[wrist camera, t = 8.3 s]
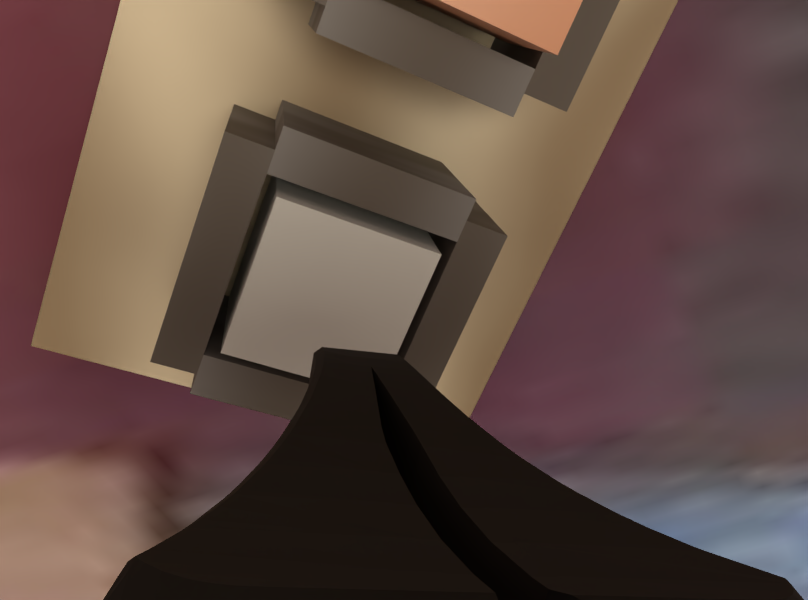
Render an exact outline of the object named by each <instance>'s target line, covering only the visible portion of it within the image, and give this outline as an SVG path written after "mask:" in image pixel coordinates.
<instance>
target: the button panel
mask: <svg viewBox="0 0 808 600" xmlns="http://www.w3.org/2000/svg"><path fill="white" fill-rule="evenodd" d="M677 2H678V0H583V1H582V3H581V5H580V8H579V10H578V12H577V14H576V16H575V18H574V21H573V23H572V25H571V27H570V29H569V31H568V34H567V36H566V38H565V40H564V42H563V45H562V47H561V49H560V51H559V53H558V55H554V54H550V53H546V52H542V51H538V50H534V49H530V48H526V47H522V46H518V45H514V44H510V43H507V42H504V41H502V40H500V39H498V38H496V37H494V36H491V35H489V34H487V33H485V32H483V31H481V30H478V29H476V28H474V27H472V26H470V25H467V24H465V23H463V22H461V21H459V20H457V19H454V18H452V17H450V16H448V15H446V14H444V13H441V12H439V11H437V10H435V9H433V8H431V7H428V6H426V5H424V4H422V3H420V2H417V1H415V0H121V2H120V5H119V9H118V13H117V17H116V21H115V25H114V28H113V32H112V36H111V40H110V44H109V48H108V51H107V55H106V59H105V63H104V67H103V71H102V74H101V78H100V82H99V86H98V90H97V94H96V98H95V101H94V105H93V109H92V113H91V117H90V121H89V124H88V128H87V132H86V136H85V140H84V144H83V147H82V151H81V155H80V159H79V163H78V167H77V171H76V174H75V178H74V182H73V186H72V190H71V194H70V197H69V201H68V205H67V209H66V213H65V217H64V220H63V224H62V228H61V232H60V236H59V240H58V244H57V247H56V251H55V255H54V259H53V263H52V267H51V270H50V274H49V278H48V282H47V286H46V290H45V293H44V297H43V301H42V305H41V309H40V313H39V317H38V320H37V324H36V328H35V332H34V336H33V340H32V343H31V346H34V347H37V348H41V349H45V350H49V351H53V352H57V353H60V354H64V355H68V356H72V357H76V358H79V359H83V360H87V361H91V362H95V363H99V364H102V365H106V366H110V367H114V368H118V369H121V370H125V371H129V372H133V373H137V374H141V375H144V376H148V377H152V378H156V379H160V380H164V381H167V382H171V383H175V384H179V385H183V386H186V387H190V388H191V391H190V394H194V395H197V396H201V397H205V398H209V399H213V400H217V401H220V402H224V403H228V404H232V405H236V406H240V407H244V408H247V409H251V410H255V411H259V412H263V413H267V414H271V415H274V416H278V417H282V418H286V419H290V420H292V418H293V416H294V415H295V413H296V411H297V410H298V408H299V406H300V404H301V402H302V400H303V398H304V396H305V393H306V391H307V389H308V385H309V379H310V378H308V377H305V376H301V375H298V374H294V373H291V372H287V371H283V370H280V369H276V368H273V367H269V366H265V365H262V364H258V363H255V362H251V361H248V360H244V359H240V358H237V357H233V356H230V355H226V354H223V353H221V347H222V341H223V334H224V327H225V321H226V314H227V307H228V301H229V296H230V293H231V290H232V287H233V285H234V282H235V279H236V276H237V273H238V270H239V268H240V265H241V262H242V259H243V256H244V253H245V251H246V248H247V245H248V242H249V239H250V236H251V233H252V231H253V228H254V225H255V222H256V219H257V216H258V214H259V211H260V208H261V205H262V202H263V199H264V197H265V194H266V191H267V188H268V185H269V182H270V179H271V177H272V176H275V177H277V178H280V179H283V180H286V181H289V182H291V183H294V184H297V185H300V186H302V187H305V188H308V189H311V190H314V191H316V192H319V193H322V194H325V195H328V196H330V197H333V198H336V199H339V200H341V201H344V202H347V203H350V204H353V205H355V206H358V207H361V208H364V209H366V210H369V211H372V212H375V213H378V214H380V215H383V216H386V217H389V218H392V219H394V220H397V221H400V222H403V223H405V224H408V225H411V226H414V227H417V228H419V229H422V230H425V231H427V232H428V233H429V235H430V237H431V238H432V240H433V241H434V243H435V245H436V246H437V248H438V250H439V251H440V253H441V254H442V255H441V257H440V259H439V262H438V264H437V266H436V268H435V270H434V273H433V275H432V277H431V279H430V282H429V284H428V286H427V288H426V291H425V293H424V295H423V297H422V300H421V302H420V304H419V306H418V308H417V311H416V313H415V315H414V317H413V320H412V322H411V324H410V326H409V329H408V331H407V333H406V335H405V338H404V340H403V342H402V344H401V346H400V349H399V351H398V353H397V355H399V356H401V357H402V358H403V359H404V360H406V361H407V362H408V363H409V364H410V365H411V366H413V367H414V368H415V369H416V370H417V371H418V372H419V373H420V374H421V375H422V376H423V377H424V378H426V379H427V380H428V381H429V382H430V383H431V384H432V385H433V386H434V387H435V388H436V389H437V390H439V391H440V392H441V393H442V394H443V395H444V396H445V397H446V398H447V399H448V400H449V401H451V402H452V403H453V404H454V405H455V406H456V407H457V408H458V409H460V410H461V411H462V412H463V413H464V414H465V415H467V416H468V417H470V415H471V413H472V411H473V409H474V407H475V405H476V403H477V401H478V399H479V397H480V395H481V393H482V391H483V389H484V387H485V385H486V383H487V381H488V379H489V377H490V375H491V373H492V371H493V369H494V367H495V365H496V363H497V361H498V359H499V357H500V355H501V353H502V351H503V349H504V347H505V345H506V343H507V341H508V339H509V337H510V335H511V333H512V331H513V329H514V327H515V325H516V323H517V321H518V319H519V317H520V315H521V313H522V311H523V309H524V307H525V305H526V303H527V301H528V299H529V297H530V295H531V293H532V291H533V289H534V287H535V285H536V283H537V281H538V279H539V277H540V275H541V273H542V271H543V269H544V267H545V265H546V263H547V261H548V259H549V257H550V255H551V253H552V251H553V249H554V247H555V245H556V243H557V242H558V240H559V238H560V236H561V234H562V232H563V230H564V228H565V226H566V224H567V222H568V220H569V218H570V216H571V214H572V212H573V210H574V208H575V206H576V204H577V202H578V200H579V198H580V196H581V194H582V192H583V190H584V188H585V186H586V184H587V182H588V180H589V178H590V176H591V174H592V172H593V170H594V168H595V166H596V164H597V162H598V160H599V158H600V156H601V154H602V152H603V150H604V148H605V146H606V144H607V142H608V140H609V138H610V136H611V134H612V132H613V130H614V128H615V126H616V124H617V122H618V120H619V118H620V116H621V114H622V112H623V110H624V108H625V106H626V104H627V102H628V100H629V98H630V96H631V94H632V92H633V90H634V88H635V86H636V84H637V82H638V80H639V78H640V76H641V74H642V72H643V70H644V68H645V66H646V64H647V62H648V60H649V58H650V56H651V54H652V52H653V50H654V48H655V46H656V44H657V42H658V40H659V38H660V36H661V34H662V32H663V30H664V28H665V26H666V24H667V22H668V20H669V18H670V16H671V14H672V12H673V10H674V8H675V6H676V4H677Z"/></svg>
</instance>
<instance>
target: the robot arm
mask: <svg viewBox="0 0 808 600" xmlns="http://www.w3.org/2000/svg"><path fill="white" fill-rule="evenodd" d="M103 600H804V599H803V598H802V597H801V596H800V595H799V593H798V592H797V591H796V590H795V589H794V587H793V586H792V585H791V584H790V583H789V582H788V580H786V579H785V578H783V577H780V576H777V575H774V574H771V573H768V572H765V571H762V570H759V569H756V568H753V567H750V566H747V565H744V564H742V563H739V562H736V561H733V560H730V559H727V558H724V557H721V556H718V555H715V554H712V553H709V552H706V551H703V550H701V549H698V548H696V547H693V546H690V545H688V544H686V543H683V542H681V541H678V540H676V539H674V538H671V537H669V536H666V535H664V534H662V533H659V532H657V531H654V530H652V529H650V528H647V527H645V526H643V525H641V524H639V523H637V522H634V521H632V520H630V519H628V518H626V517H624V516H621V515H619V514H617V513H615V512H613V511H611V510H610V509H608V508H606V507H604V506H602V505H600V504H598V503H596V502H594V501H592V500H590V499H589V498H587V497H585V496H583V495H581V494H579V493H577V492H575V491H574V490H572V489H570V488H568V487H567V486H565V485H563V484H561V483H560V482H558V481H556V480H555V479H553V478H552V477H550V476H549V475H547V474H545V473H544V472H542V471H541V470H539V469H538V468H536V467H535V466H533V465H531V464H530V463H528V462H527V461H525V460H524V459H522V458H521V457H519V456H518V455H517V454H515V453H514V452H512V451H511V450H510V449H508V448H507V447H505V446H504V445H503V444H502V443H500V442H499V441H498V440H496V439H495V438H494V437H493V436H491V435H490V434H489V433H487V432H486V431H485V430H484V429H482V428H481V427H480V426H479V425H477V424H476V423H475V422H474V421H473V420H471V419H470V418H469V417H468V416H467V415H465V414H464V413H463V412H462V411H461V410H460V409H458V408H457V407H456V406H455V405H454V404H453V403H452V402H451V401H449V400H448V399H447V398H446V397H445V396H444V395H443V394H442V393H441V392H440V391H439V390H437V389H436V388H435V387H434V386H433V385H432V384H431V383H430V382H429V381H428V380H427V379H426V378H424V377H423V376H422V375H421V374H420V373H419V372H418V371H417V370H416V369H415V368H414V367H413V366H411V365H410V364H409V363H408V362H407V361H406V360H404V359H403V358H402V357H401V356H399V355H397V354H388V353H378V352H368V351H358V350H348V349H338V348H328V347H321V348H320V349H318V350H317V351H316V352H314V354H313V360H312V366H311V373H310V379H309V385H308V389H307V391H306V393H305V396H304V398H303V400H302V402H301V404H300V406H299V408H298V410H297V411H296V413H295V415H294V416H293V418H292V420H291V421H290V423H289V425H288V426H287V428H286V429H285V431H284V433H283V434H282V435H281V437H280V438H279V440H278V441H277V442H276V444H275V445H274V446H273V448H272V449H271V450H270V451H269V453H268V454H267V455H266V456H265V457H264V459H263V460H262V461H261V462H260V463H259V465H258V466H257V467H256V468H255V469H254V470H253V471H252V472H251V473H250V474H249V475H248V476H247V477H246V478H245V479H244V480H243V481H242V482H241V483H240V484H239V485H238V486H237V487H236V488H235V489H234V490H233V491H232V492H231V493H230V494H229V495H227V496H226V497H225V498H224V499H223V500H221V501H220V502H219V503H218V504H216V505H215V506H214V507H212V508H211V509H210V510H209V511H207V512H206V513H205V514H203V515H202V516H201V517H200V518H198V519H197V520H196V521H195V522H193V523H192V524H191V525H189V526H188V527H186V528H185V529H183V530H182V531H180V532H179V533H177V534H175V535H173V536H172V537H170V538H168V539H166V540H165V541H163V542H161V543H159V544H158V545H156V546H154V547H152V548H151V549H149V550H147V551H145V552H143V553H141V554H139V555H137V556H135V557H134V558H132V559H131V560H129V561H128V562H127V564H126V565H125V567H124V568H123V570H122V571H121V573H120V574H119V576H118V577H117V579H116V581H115V582H114V584H113V585H112V587H111V588H110V590H109V592H108V593H107V595H106V596H105V598H104V599H103Z"/></svg>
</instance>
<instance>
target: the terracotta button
mask: <svg viewBox="0 0 808 600" xmlns="http://www.w3.org/2000/svg"><path fill="white" fill-rule="evenodd" d="M415 1H417V2H420V3H422V4H424V5H426V6H428V7H431V8H433V9H435V10H437V11H439V12H441V13H444V14H446V15H448V16H450V17H452V18H454V19H457V20H459V21H461V22H463V23H465V24H467V25H470V26H472V27H474V28H476V29H478V30H481V31H483V32H485V33H487V34H489V35H491V36H494V37H496V38H498V39H500V40H502V41H504V42H507V43H510V44H514V45H518V46H522V47H526V48H530V49H534V50H538V51H542V52H546V53H550V54H554V55H558V53H559V51H560V49H561V47H562V45H563V42H564V40H565V38H566V36H567V34H568V31H569V29H570V27H571V25H572V23H573V21H574V18H575V16H576V14H577V12H578V10H579V8H580V5H581V3H582V1H583V0H415Z"/></svg>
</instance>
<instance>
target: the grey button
mask: <svg viewBox="0 0 808 600" xmlns="http://www.w3.org/2000/svg"><path fill="white" fill-rule="evenodd" d="M441 255H442V254H441V253H440V251H439V250H438V248H437V246H436V245H435V243H434V241H433V240H432V238H431V237H430V235H429V233H428V232H427V231H425V230H422V229H419V228H417V227H414V226H411V225H408V224H405V223H403V222H400V221H397V220H394V219H392V218H389V217H386V216H383V215H380V214H378V213H375V212H372V211H369V210H366V209H364V208H361V207H358V206H355V205H353V204H350V203H347V202H344V201H341V200H339V199H336V198H333V197H330V196H328V195H325V194H322V193H319V192H316V191H314V190H311V189H308V188H305V187H302V186H300V185H297V184H294V183H291V182H289V181H286V180H283V179H280V178H277V177H275V176H272V177H271V179H270V182H269V185H268V188H267V191H266V194H265V197H264V199H263V202H262V205H261V208H260V211H259V214H258V216H257V219H256V222H255V225H254V228H253V231H252V233H251V236H250V239H249V242H248V245H247V248H246V251H245V253H244V256H243V259H242V262H241V265H240V268H239V270H238V273H237V276H236V279H235V282H234V285H233V287H232V290H231V293H230V296H229V301H228V307H227V314H226V321H225V327H224V334H223V341H222V347H221V353H223V354H226V355H230V356H233V357H237V358H240V359H244V360H248V361H251V362H255V363H258V364H262V365H265V366H269V367H273V368H276V369H280V370H283V371H287V372H291V373H294V374H298V375H301V376H305V377H308V378H310V373H311V366H312V360H313V354H314V352H316V351H317V350H318V349H320V348H321V347H328V348H338V349H348V350H358V351H368V352H378V353H388V354H397V353H398V351H399V349H400V346H401V344H402V342H403V340H404V338H405V335H406V333H407V331H408V329H409V326H410V324H411V322H412V320H413V317H414V315H415V313H416V311H417V308H418V306H419V304H420V302H421V300H422V297H423V295H424V293H425V291H426V288H427V286H428V284H429V282H430V279H431V277H432V275H433V273H434V270H435V268H436V266H437V264H438V262H439V259H440V257H441Z"/></svg>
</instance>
